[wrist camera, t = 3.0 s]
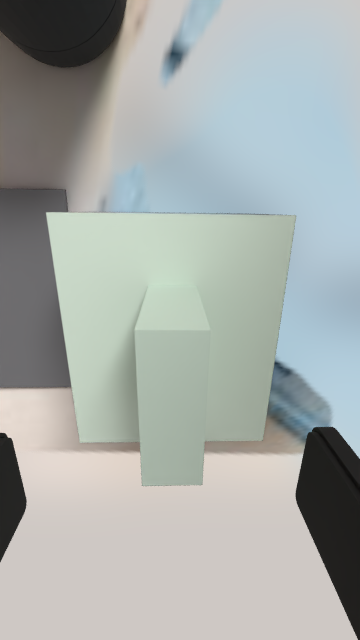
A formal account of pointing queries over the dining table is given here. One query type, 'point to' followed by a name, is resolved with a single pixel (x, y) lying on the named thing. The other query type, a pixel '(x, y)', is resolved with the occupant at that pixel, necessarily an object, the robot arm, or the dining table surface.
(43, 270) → the dark grey flat plate
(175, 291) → the green slab
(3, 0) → the pen holder
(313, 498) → the robot arm
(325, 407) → the dining table surface
